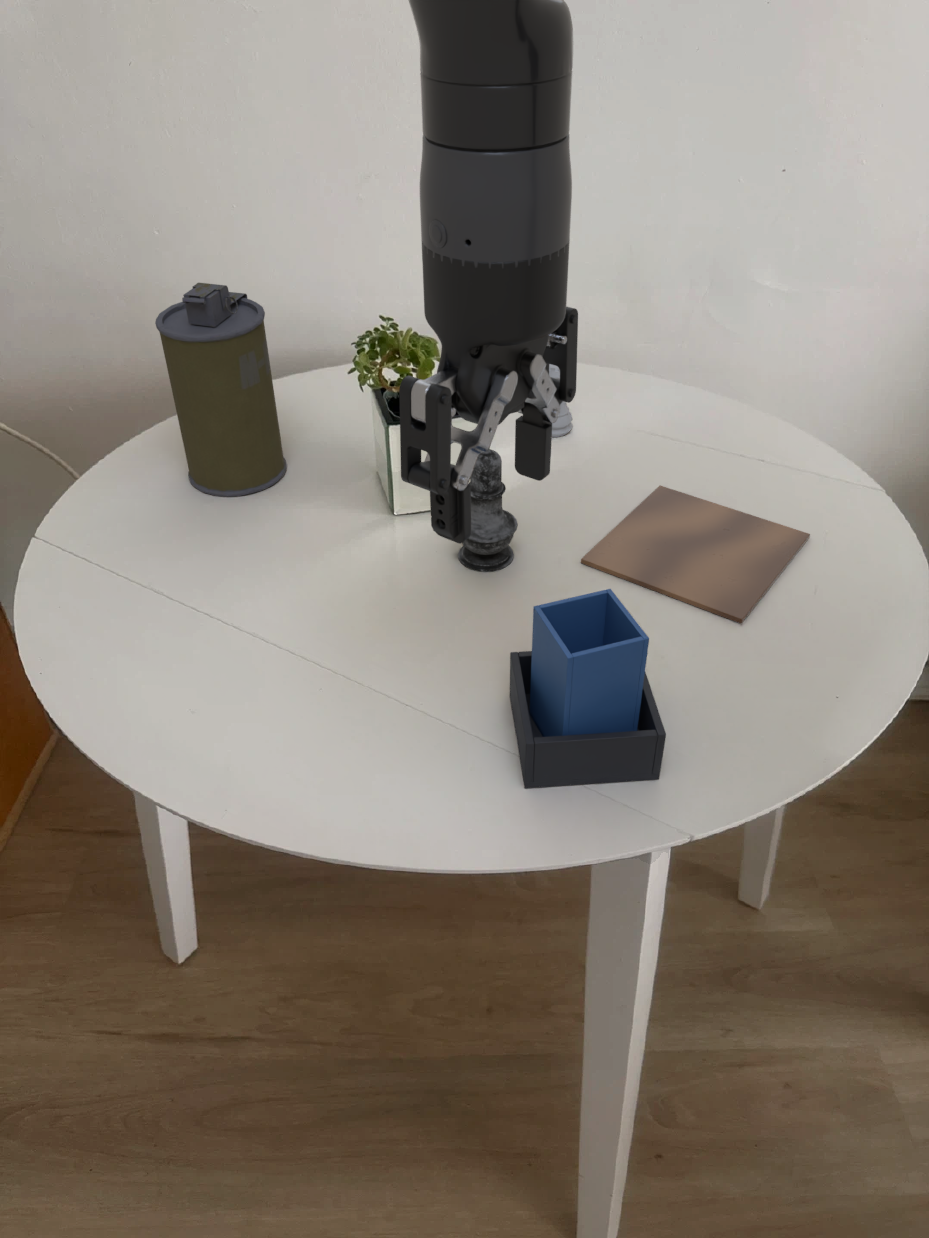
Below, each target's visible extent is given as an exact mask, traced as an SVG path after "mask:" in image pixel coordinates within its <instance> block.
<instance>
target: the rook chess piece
mask: <svg viewBox="0 0 929 1238" xmlns="http://www.w3.org/2000/svg"><path fill="white" fill-rule="evenodd" d="M549 376H550V377H552V378H556V379H559V380H560V369H559V368H558V367H557V366H555V365H552V364H549ZM572 422H573V415H572V412H571V411H570V407H569V406H568V405H567V402H564V401H563V402H562V403H561V404H560V415H559V417H558V419H557V421H556V422H555V423H552V438H559V437H563V436H566V435H567V434H569V433H570V431H571V430H573V427H574V426H573V423H572Z"/></svg>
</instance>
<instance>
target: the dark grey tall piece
mask: <svg viewBox="0 0 929 1238" xmlns="http://www.w3.org/2000/svg"><path fill="white" fill-rule="evenodd" d="M502 467H503V461H502V457H501V455H500V454H499V453H498V451H496V450H494V449H490V448H489V449H488V450H487V451H486V452H483V453H480V454H479V456H478V458H477V461H476V464H475V466H474V469H473V472H472V475H471V478H470V480H469V483H468V484H470V485H471V536H470V537H469V538H468V539H467V540H465V541H464V542H463V543H461V544H462V546H461V547H460V548H459V550H458V553H457V558H458V561H459V562H460V564H462V566H464V567H465V568H467V569H469V570H472V571H476V572H484V573H487V572H488V573H489V572H495V571H500V570H502V569H505V568H507V567H508V566H509V565H511V563H512V562H513V561H514V558H515V553H514V550H513V549H512V547H511V546H510V544H511V542H512V540H513V538H514V534H515V533H516V531H517V530H518V525H519V523H518V520H517V518H516V517H515V516H514V515H513V514H512V513H511V512H509V511H507V510H505V509H503V496H504V494H505V493H506V489H507V488H506V484H505V483H504V482H503V481H502V479H503V478H502V477H503V475H502V474H503V473H502V471H503V469H502Z"/></svg>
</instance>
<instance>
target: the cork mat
mask: <svg viewBox="0 0 929 1238" xmlns="http://www.w3.org/2000/svg"><path fill="white" fill-rule="evenodd" d="M810 537H811V533H808V532H805V531H802V530H799V529H796V528H794V527H790V526H787V525H784V524H781V523H778V522H775V521H771V520H768V519H766V518H763V517H759V516H756V515H754V514H753V515H752V514H750V513H746V512H743V511H741V510H738V509H735V508H731V507H728V506H725V505H722V504H719V503H716V502H712V501H709V500H707V499H703V498H700V497H697V496H694V495H691V494H688V493H685V492H682V491H679V490H676V489H672V488H669V487H667V486H663V485H659V486H658V487H656V488H655V489H654V490H653V491H652V492H651V493H650V494H649V495H648V496H647V497H646V498H644V499H643V500H642V501H641V502H640V503H639V504H638V505H637V506H636V507H635V508H634V509H632V510H631V512H629V513H628V514H627V515H626V516H625V517H624V518H623V519H622V520H621V521H620V522H618V524H617V525H616V526H614V527H613V529H611V530H610V531H609V532H608V533H607V534H606V535H605V536H604V537H603V538H602V539H600V541H598V542H597V543H596V544H595V545H593V547H592V548H591V549H589V551H588V552H587V553H585V555H584V556H582V557H581V558H580V563H581V564H583V565H585V566H587V567H590V568H592V569H595V570H597V571H600V572H604V573H606V574H609V575H612V576H614V577H617V578H619V579H622V580H625V581H627V582H629V583H633V584H635V585H637V586H640V587H643V588H645V589H648V590H651V591H654V592H656V593H659V594H661V595H664V596H667V597H670V598H672V599H674V600H677V601H680V602H683V603H685V604H688V605H691V606H694V607H696V608H698V609H701V610H704V611H707V612H709V613H712V614H714V615H717V616H719V617H722V618H725V619H727V620H730V621H732V622H736V623H738V624H740V625H742V624H743V623H744V621H745V620H746V619H747V618H748V616H749V615H750V614H751V613H752V612H753V610H754V609H755V608H756V606H758V604H759V602H761V600H762V598H764V597H765V595H766V594H767V592H768V591H769V590H770V588H771V587H772V586H773V585H774V584H775V582H776V581H777V580H778V579H779V577H780V576H781V575H782V573H784V571H785V570H786V568H787V567H788V566H789V565H790V563H791V562H792V561H793V560H794V558H795V557H796V556H797V555H798V554H799V552H800V551H801V550H802V548H803V547H804V546H805V544H806V542H808V540H809V539H810Z"/></svg>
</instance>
